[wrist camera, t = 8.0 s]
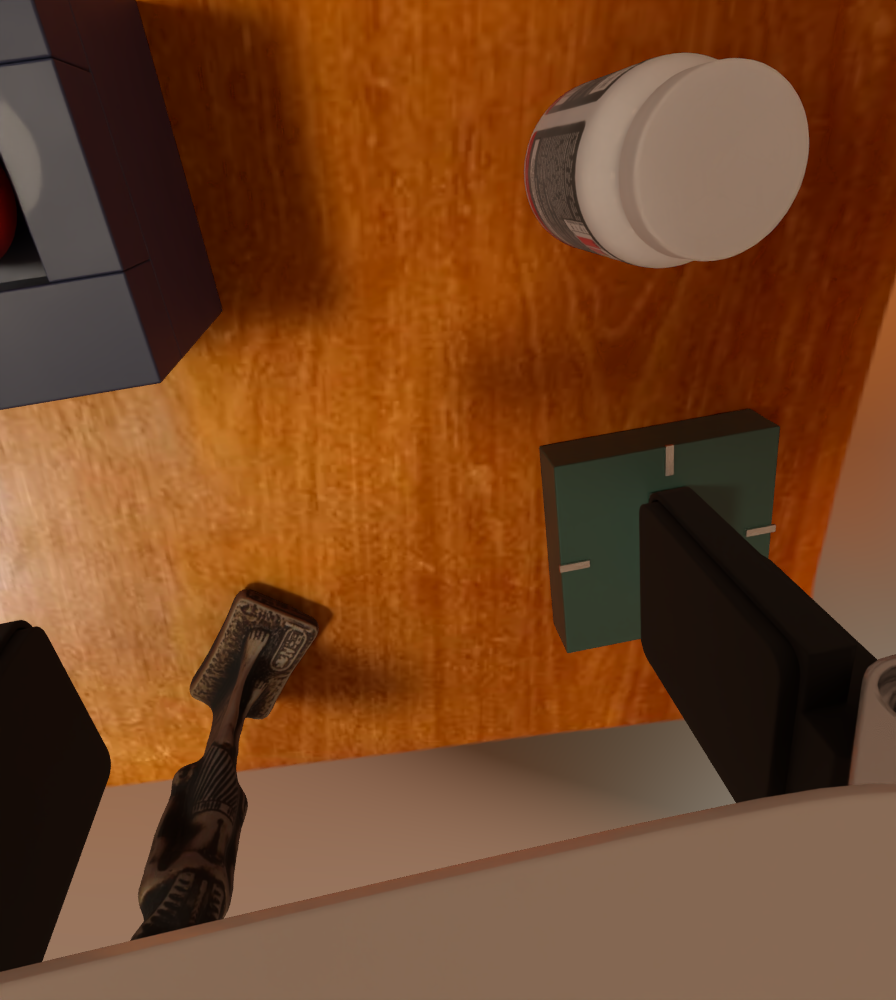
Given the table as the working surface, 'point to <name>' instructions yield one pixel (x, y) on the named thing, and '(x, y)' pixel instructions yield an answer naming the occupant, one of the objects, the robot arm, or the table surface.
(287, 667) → the statue
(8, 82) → the button box
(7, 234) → the red button
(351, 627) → the table surface
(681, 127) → the pill bottle
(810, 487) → the table surface
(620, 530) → the panel
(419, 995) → the robot arm
